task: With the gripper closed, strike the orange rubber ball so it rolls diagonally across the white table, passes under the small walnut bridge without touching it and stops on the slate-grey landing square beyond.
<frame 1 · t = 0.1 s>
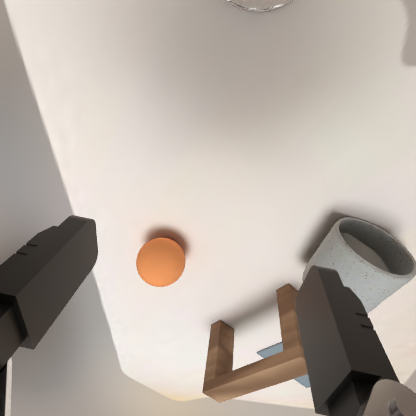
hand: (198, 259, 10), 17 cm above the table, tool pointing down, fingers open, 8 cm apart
ball: (161, 261, 30), on the table
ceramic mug: (352, 246, 30), on the table
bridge: (253, 311, 37), on the table
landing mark: (315, 358, 41), on the table
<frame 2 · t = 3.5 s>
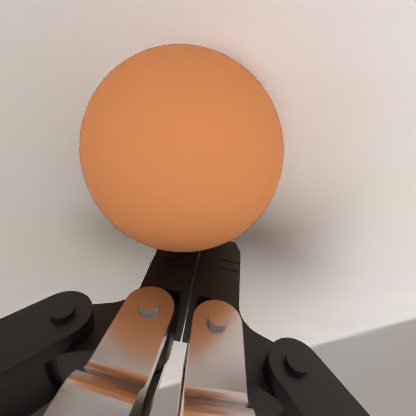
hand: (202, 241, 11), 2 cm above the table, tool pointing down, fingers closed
ball: (184, 156, 8), on the table
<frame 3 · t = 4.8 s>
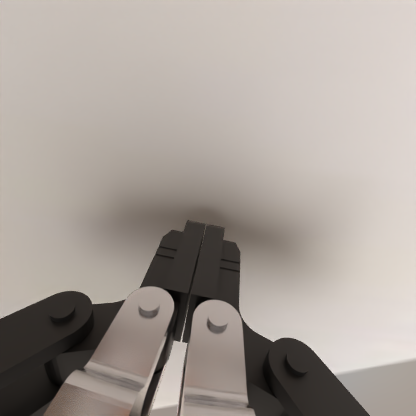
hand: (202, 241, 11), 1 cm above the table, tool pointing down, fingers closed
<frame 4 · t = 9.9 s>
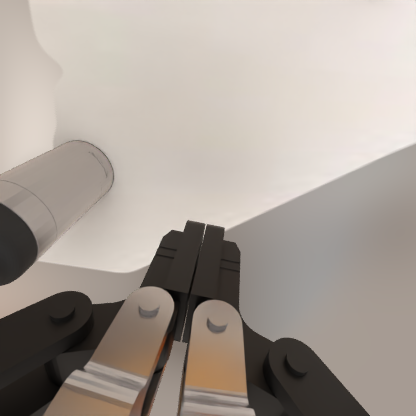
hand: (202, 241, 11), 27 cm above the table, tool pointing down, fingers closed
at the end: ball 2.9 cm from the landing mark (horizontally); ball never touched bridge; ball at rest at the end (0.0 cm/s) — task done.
